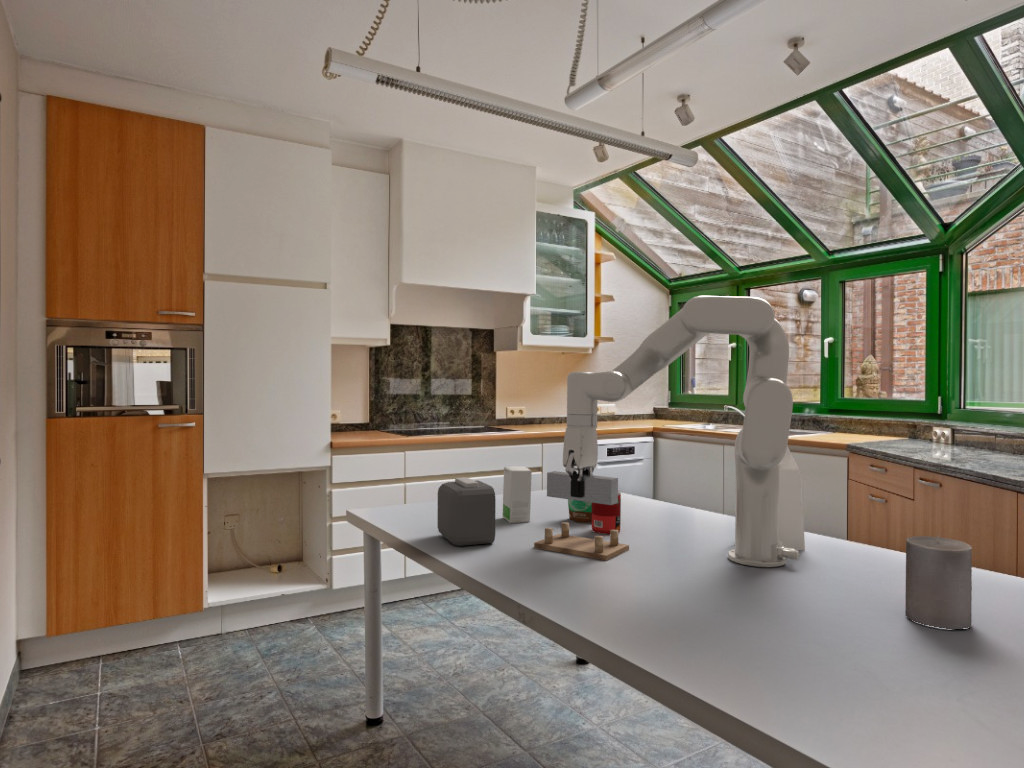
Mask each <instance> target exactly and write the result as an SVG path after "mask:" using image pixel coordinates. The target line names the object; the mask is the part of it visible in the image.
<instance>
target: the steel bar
mask: <svg viewBox="0 0 1024 768" xmlns="http://www.w3.org/2000/svg"><path fill="white" fill-rule="evenodd" d="M581 481H583V497H582V498H578V497H571V481H570V476H569V474H568V473H567V472H566V471H565V472H563V471H555V470H554V471H548V472H546V497H550V498H557V499H561V500H562V499H563V500H568V499H570V500H577V501H585V502H592V503H599V504H607V505H613V504H616V503H618V491H619V478H618V477H610V476H603V475H602V476H601V475H594V474H593V475H585V474H582V480H581Z"/></svg>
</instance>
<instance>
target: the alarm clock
mask: <svg viewBox="0 0 1024 768" xmlns="http://www.w3.org/2000/svg"><path fill="white" fill-rule="evenodd" d="M494 489H495V488H494V487H493V486H491V485H489V484H487V483H486V482H483V481H480V480H473V479H472V478H469V477H466V476H465V477H455V479H454V481H447V482H444V483H442V484H441V485H440V486H439V487H438V490H437V531H438V533H439V534H441V535H442V536H443V537H444V538H445V539H446V540H448V541H449V542H450V543H451V544H453V545H454V546H457V547H459V546H460V547H462V546H473V545H485V544H493V543H494V542H495V540H496V501H497V500H496V491H495V490H494Z"/></svg>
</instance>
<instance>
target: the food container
mask: <svg viewBox="0 0 1024 768" xmlns="http://www.w3.org/2000/svg"><path fill="white" fill-rule="evenodd" d="M567 505H568V517H569V520H570V521H571V522H574V523H581V524H592V502H585V501H577V500H570V499H567Z"/></svg>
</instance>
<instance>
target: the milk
mask: <svg viewBox="0 0 1024 768" xmlns="http://www.w3.org/2000/svg"><path fill="white" fill-rule="evenodd" d="M803 499H804V497H803V477H802V472H801V470H800V468H799V466H798V464H797V462H796V460H795V458H794V456H793V454H792V452H791V450H790V448H789V446H788V445H787V449H786V453H785V456H784V458H783V460H782V461H781V462H780V463H779V541H782V542H783V547H785V548H788V549H789V548H790V549H795V550H796V551H805V550H806V543H805V541H806V540H805V539H806V538H805V522H804V521H805V520H804V519H805V518H804V517H805V516H804V500H803Z"/></svg>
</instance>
